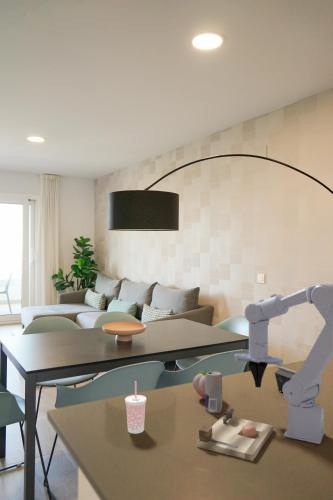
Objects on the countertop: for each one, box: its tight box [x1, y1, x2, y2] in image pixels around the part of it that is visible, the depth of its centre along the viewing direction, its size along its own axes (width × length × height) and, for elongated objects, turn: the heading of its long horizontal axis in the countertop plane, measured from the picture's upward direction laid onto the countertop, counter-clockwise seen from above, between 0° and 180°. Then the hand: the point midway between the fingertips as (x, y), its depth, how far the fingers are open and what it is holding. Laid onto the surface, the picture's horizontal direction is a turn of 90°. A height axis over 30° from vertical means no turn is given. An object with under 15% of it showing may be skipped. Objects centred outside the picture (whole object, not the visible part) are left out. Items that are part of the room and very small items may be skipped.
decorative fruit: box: [192, 369, 207, 400], centre depth 141 cm, size 9×8×10 cm
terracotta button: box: [241, 425, 257, 439], centre depth 112 cm, size 4×4×3 cm
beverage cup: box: [124, 380, 147, 434], centre depth 117 cm, size 6×6×14 cm
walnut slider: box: [198, 425, 212, 441], centre depth 108 cm, size 2×3×2 cm
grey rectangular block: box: [225, 408, 235, 420], centre depth 120 cm, size 1×3×3 cm, turn 151°
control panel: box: [196, 414, 274, 462], centre depth 112 cm, size 15×19×3 cm
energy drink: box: [204, 370, 223, 414], centre depth 132 cm, size 5×5×12 cm
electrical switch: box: [274, 366, 298, 393], centre depth 145 cm, size 9×5×9 cm, turn 30°
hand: (258, 386), depth 126 cm, fingers closed
